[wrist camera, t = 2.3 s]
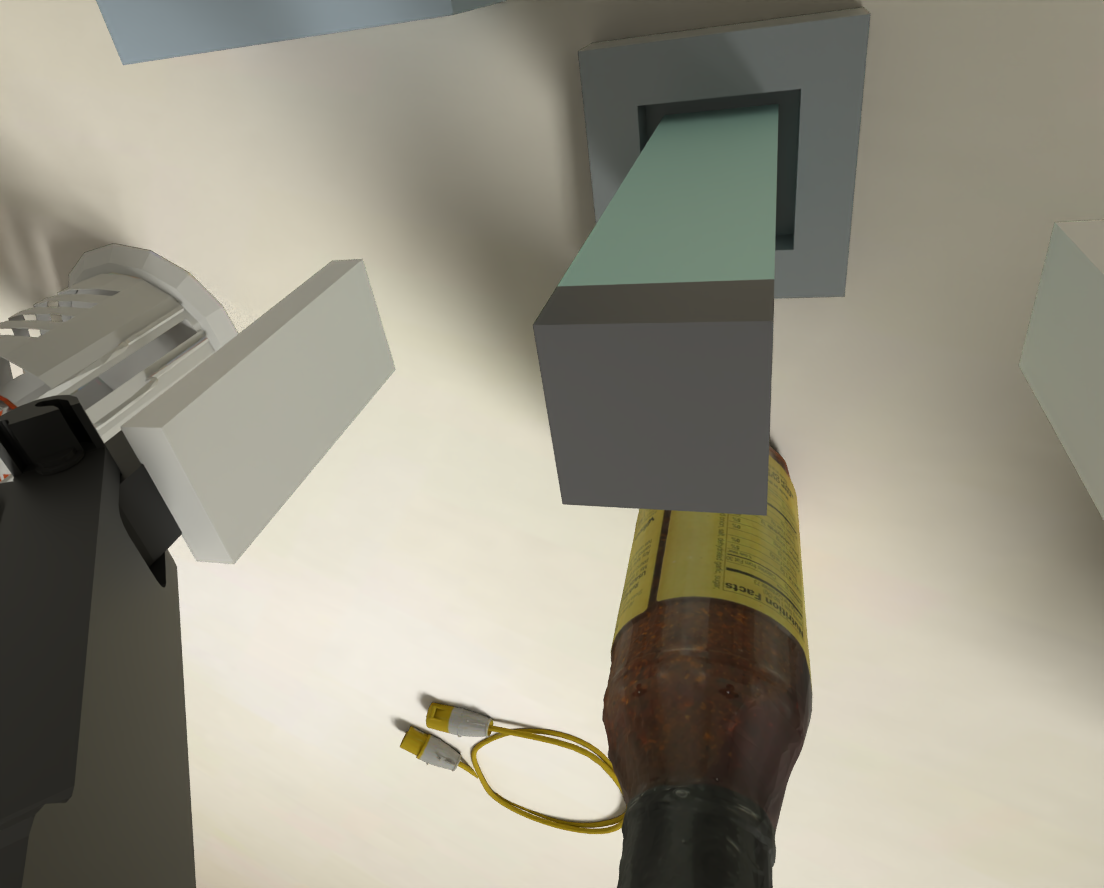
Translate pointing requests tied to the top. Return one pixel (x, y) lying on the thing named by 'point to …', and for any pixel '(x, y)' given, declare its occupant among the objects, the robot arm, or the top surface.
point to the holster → (743, 81)
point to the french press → (112, 337)
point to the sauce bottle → (709, 691)
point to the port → (251, 22)
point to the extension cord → (481, 726)
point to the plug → (671, 326)
